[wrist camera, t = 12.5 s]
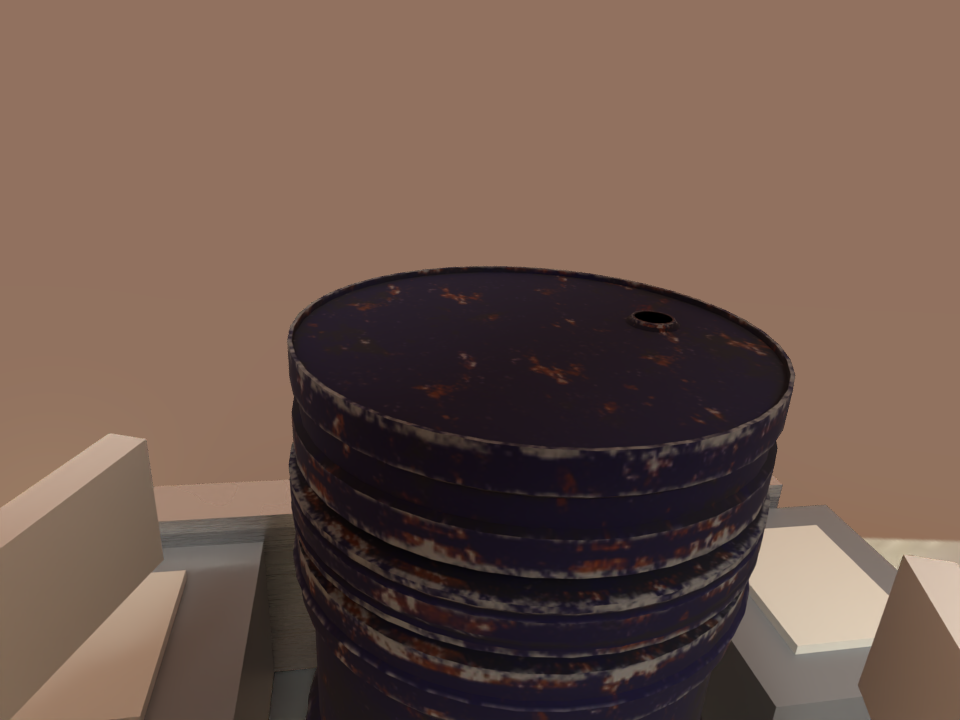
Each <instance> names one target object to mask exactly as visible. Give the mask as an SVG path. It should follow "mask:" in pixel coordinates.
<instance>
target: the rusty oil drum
mask: <svg viewBox="0 0 960 720" xmlns="http://www.w3.org/2000/svg"><path fill="white" fill-rule="evenodd" d="M287 340H288V341H287V342H288V359H289V376H290V381H291V386H292V391H293V395H294V401H293V408H292V427H293V444H292V447H291V453H290V460H289V473H290V493H291V508H292V514H293V520H294V527H295V539H294V548H293V558H294V565H295V571H296V578H297V580H298V583H299V585H300V587H301V590H302V596H303V602H304V604H305V607H306V609H307V612H308V614H309V616H310V619H311V621H312V624H313V626H314V628H315V632H316V651H317V669H316V671H315V675H314V678H313V682H312V686H311V690H310V694H309V702H308V711H307V715H306V720H702V716H701V713H702V708H703V704H704V700H705V696H706V691H707V687H708V683H709V679H710V674H711V671H712V670H713V669H714V668H715V667H716V665H717V664H718V663H719V662H720V661H721V660H722V658H723V656H724V654H725V652H726V650H727V648H728V646H729V644H730V642H731V640H732V638H733V637H734V635H735V632H736V630H737V628H738V626H739V624H740V622H741V620H742V618H743V616H744V614H745V611H746V606H747V600H748V595H749V590H750V588H749V578H750V576H751V574H752V572H753V570H754V568H755V566H756V563H757V559H758V554H759V551H760V547H761V543H762V539H763V535H764V529H765V527H766V523H767V518H768V512H769V507H770V494H769V485H770V481H771V477H772V473H773V469H774V464H775V458H776V453H777V444H776V440H777V438H778V437H779V435H780V434H781V432H782V431H783V428H784V424H785V420H786V416H787V412H788V408H789V404H790V399H791V395H792V392H793V386H794V379H795V372H794V369H793V366H792V363H791V360H790V358H789V357H788V356H787V354H786V353H785V352H784V350H783V349H782V348H781V346H780V345H779V344H778V343H776V342H775V341H774V340H773V339H772V338H771V337H769V336H768V335H767V334H766V333H765V332H763V331H762V330H760V329H759V328H757V327H756V326H754V325H752V324H751V323H749V322H748V321H746V320H744V319H742V318H740V317H738V316H736V315H734V314H732V313H730V312H728V311H726V310H724V309H721V308H719V307H717V306H714V305H712V304H709V303H706V302H704V301H701V300H699V299H696V298H692V297H690V296H686V295H683V294H680V293H677V292H674V291H670V290H667V289H663V288H659V287H655V286H651V285H648V284H643V283H638V282H634V281H629V280H624V279H620V278H614V277H608V276H602V275H596V274H590V273H582V272H573V271H566V270H554V269H543V268H529V267H507V266H473V267H448V268H437V269H426V270H418V271H410V272H403V273H397V274H391V275H387V276H382V277H377V278H372V279H369V280H365V281H362V282H358V283H354V284H351V285H348V286H346V287H343V288H341V289H338V290H335V291H333V292H330V293H328V294H326V295H325V296H323V297H321V298H319V299H317V300H316V301H314V302H312V303H311V304H310V305H308V306H307V307H306V308H305V309H304V310H302V311H301V312H300V313H299V314H298V315H297V317H296V318H295V320H294V321H293V323H292V324H291V326H290V330H289V335H288V339H287Z"/></svg>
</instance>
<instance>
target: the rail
mask: <svg viewBox="0 0 960 720" xmlns="http://www.w3.org/2000/svg"><path fill="white" fill-rule="evenodd" d="M782 486H783V484H782V483H781V482H779V480H778V479H776V478H775V477H774V476H773V475H772V477H771V481H770V485H769V494H770V507H769V508H777V505H778V501H779V498H780V494H781V490H782ZM153 489H154V496H155V503H156V509H157V516H158V523H159V530H160V537H161V543H162V548H178V547H193V546H208V545H223V544H238V543H253V542H264V554H265V567H266V579H267V591H268V603H269V616H270V628H271V640H272V653H273V665H274V672H280V671H290V670H300V669H310V668H317V651H316V632H315V628H314V626H313V624H312V621H311V619H310V616H309V614H308V612H307V609H306V607H305V604H304V602H303V596H302V590H301V587H300V585H299V583H298V580H297V578H296V571H295V565H294V558H293V548H294V539H295V527H294V520H293V514H292V508H291V493H290V480H271V481H252V482H231V483H211V484H192V485H173V486H172V485H171V486H153Z"/></svg>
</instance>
